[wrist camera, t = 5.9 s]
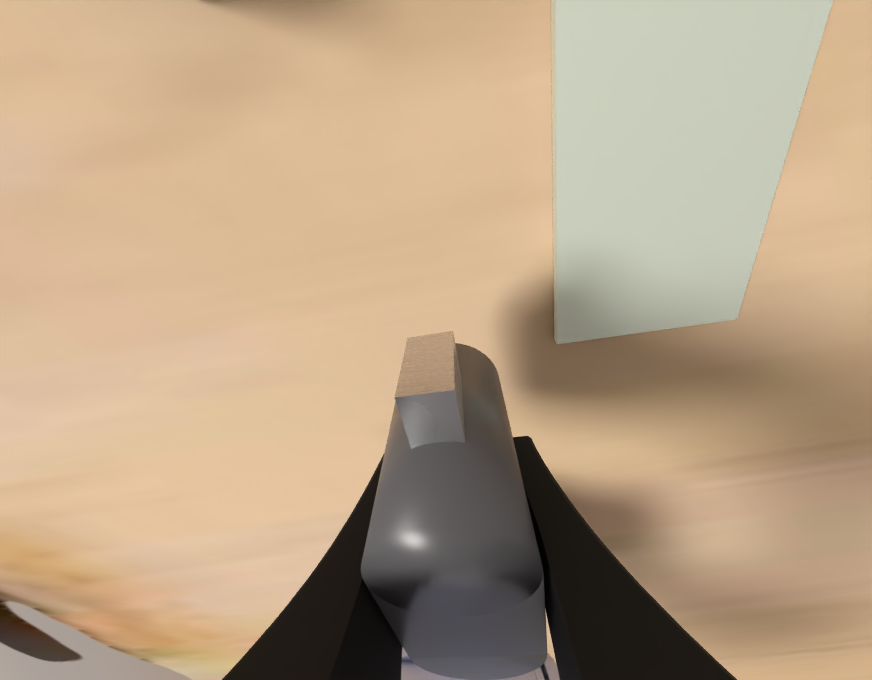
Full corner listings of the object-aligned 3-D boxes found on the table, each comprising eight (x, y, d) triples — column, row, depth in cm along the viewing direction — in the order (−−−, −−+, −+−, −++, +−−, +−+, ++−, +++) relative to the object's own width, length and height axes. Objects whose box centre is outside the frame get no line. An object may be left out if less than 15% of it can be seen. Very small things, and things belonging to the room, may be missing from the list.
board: (728, 314, 17) (737, 319, 17) (554, 339, 18) (557, 344, 18) (839, -77, 10) (860, -89, 10) (551, -1, 11) (556, -8, 11)
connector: (511, 484, 14) (548, 679, 9) (432, 491, 14) (423, 681, 9) (489, 297, 10) (537, 460, 5) (378, 315, 10) (305, 483, 5)
